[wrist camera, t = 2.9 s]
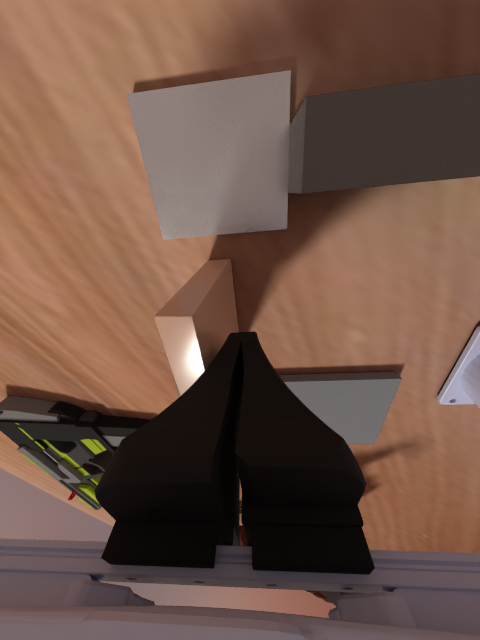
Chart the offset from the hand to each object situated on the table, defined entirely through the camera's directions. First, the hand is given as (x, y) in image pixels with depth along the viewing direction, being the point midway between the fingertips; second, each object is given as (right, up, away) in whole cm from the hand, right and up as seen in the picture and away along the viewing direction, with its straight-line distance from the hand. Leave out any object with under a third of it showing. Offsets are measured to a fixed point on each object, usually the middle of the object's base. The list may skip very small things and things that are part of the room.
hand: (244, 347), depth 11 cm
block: (-1, +2, +4) cm, 5 cm away
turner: (+3, +9, 0) cm, 10 cm away
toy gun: (-14, -12, +14) cm, 24 cm away
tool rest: (+4, -7, +9) cm, 12 cm away
